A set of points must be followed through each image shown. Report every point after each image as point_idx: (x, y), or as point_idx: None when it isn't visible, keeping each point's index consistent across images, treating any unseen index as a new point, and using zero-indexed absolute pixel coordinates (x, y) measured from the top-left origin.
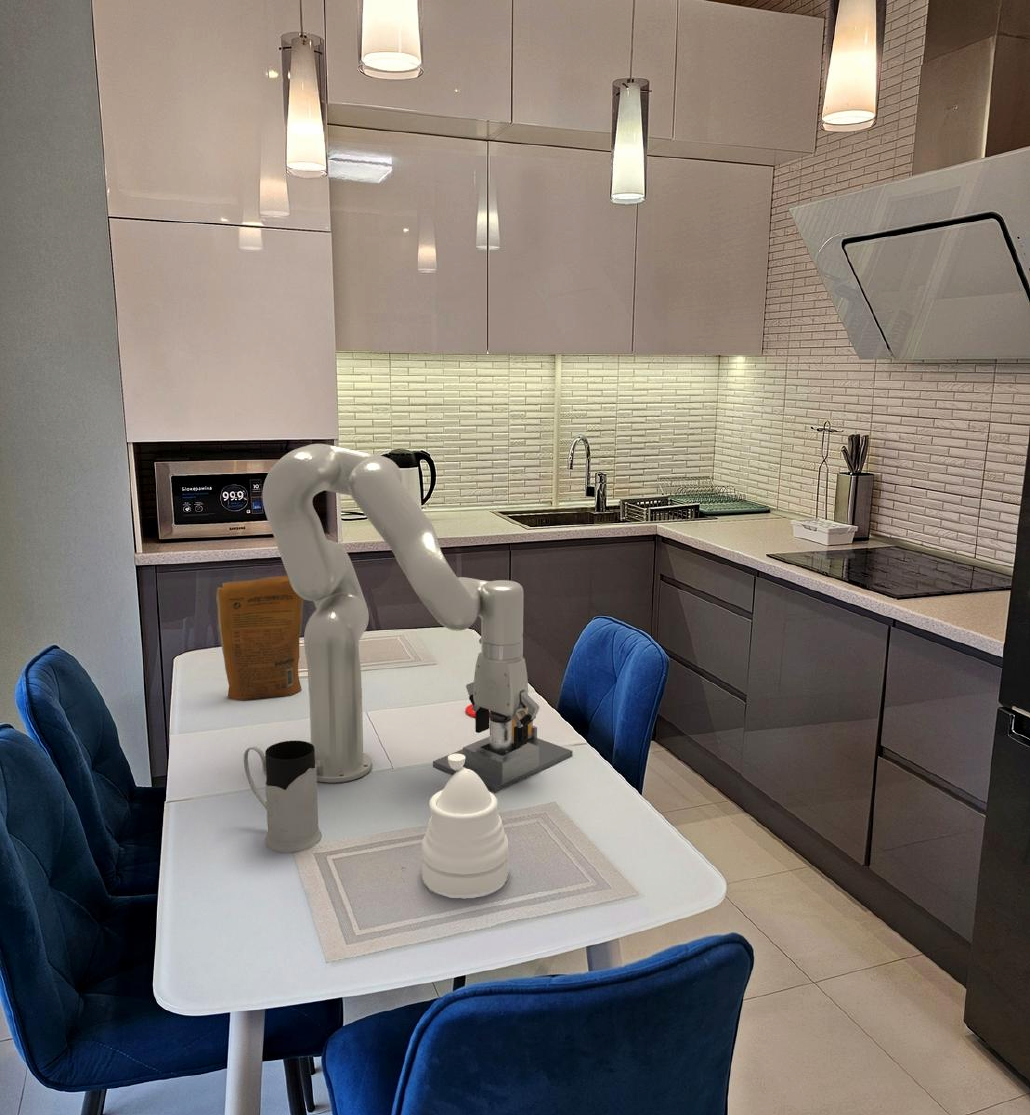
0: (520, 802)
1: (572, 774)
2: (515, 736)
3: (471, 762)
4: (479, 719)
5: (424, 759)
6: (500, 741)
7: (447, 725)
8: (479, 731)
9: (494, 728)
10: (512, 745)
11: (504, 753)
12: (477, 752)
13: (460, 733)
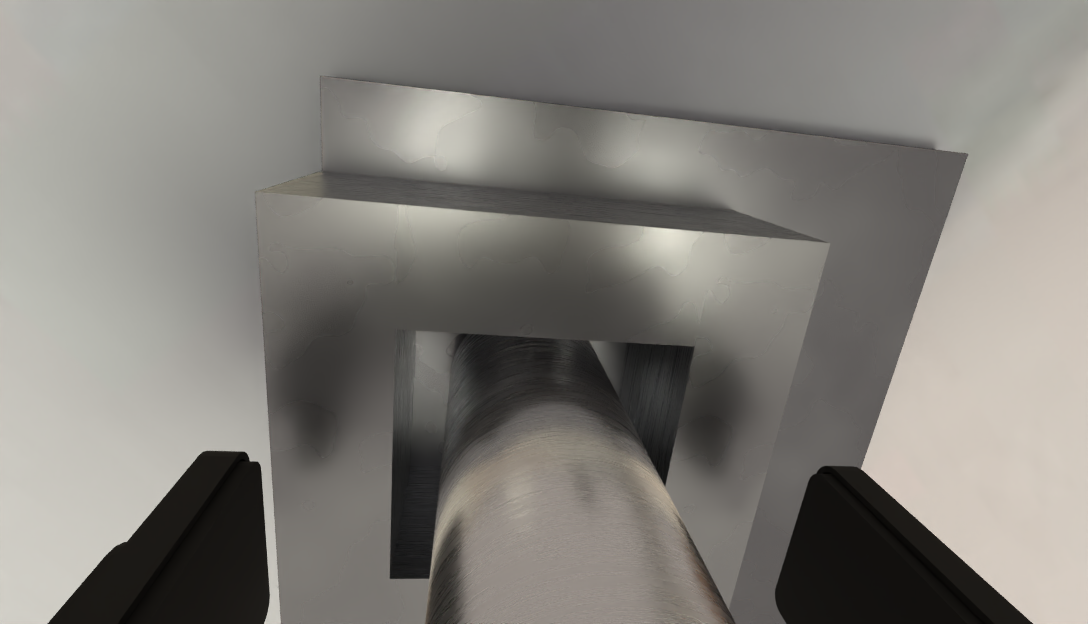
0: (69, 79)
1: None
2: (133, 554)
3: (672, 213)
4: (928, 606)
5: (1030, 201)
6: (481, 458)
7: (1083, 591)
8: (817, 489)
9: (576, 541)
10: None
11: (454, 414)
12: (643, 238)
13: (984, 570)
